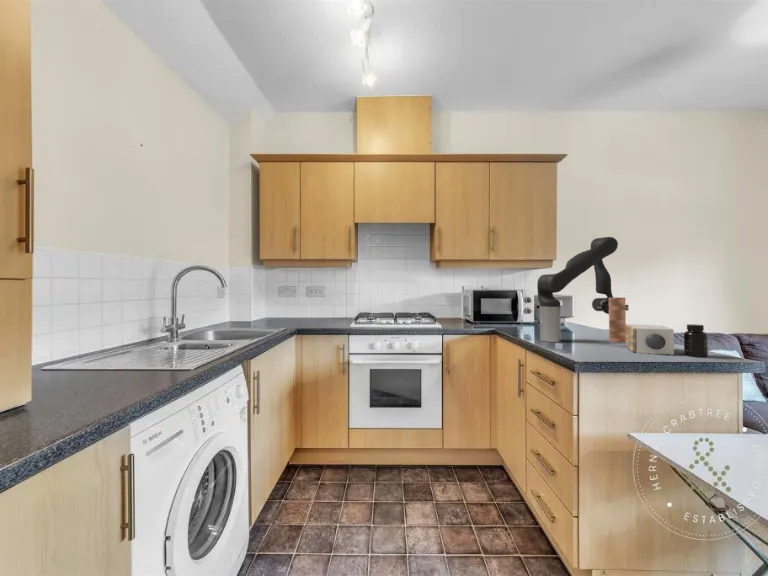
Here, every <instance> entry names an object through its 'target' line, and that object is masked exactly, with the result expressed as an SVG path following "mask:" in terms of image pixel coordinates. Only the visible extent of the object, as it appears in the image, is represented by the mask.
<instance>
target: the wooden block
mask: <svg viewBox="0 0 768 576" xmlns="http://www.w3.org/2000/svg"><path fill="white" fill-rule="evenodd" d="M625 305H626V297H613V298H609V314H608V338H609V339H608V342H609V343H623V344H624V347H626V348H627V349H628V350H630V351H631V352H634V353H636V328H634V327H632V326H629V325H630V324H626V319H627V318H626V315H627V313H626V310H625Z"/></svg>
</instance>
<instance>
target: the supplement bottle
mask: <svg viewBox="0 0 768 576" xmlns="http://www.w3.org/2000/svg"><path fill="white" fill-rule="evenodd" d="M704 328H705V327H704V325H703V324H686V331H685V332H684V333H683V353H684V355H685V356H687V357H691V356H692V357H691V358H707V357H708V356H709V344H708V342H709V341H708V334H707V332H705V329H704Z"/></svg>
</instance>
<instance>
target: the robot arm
mask: <svg viewBox="0 0 768 576" xmlns="http://www.w3.org/2000/svg"><path fill="white" fill-rule="evenodd" d="M618 245H619V243H618V240H617V239H616V238H615V237H613V236H604V237H597V238H594V239H593V240H592V241H591V242H590V249H586V250H584V251H581V252H579V253H577V254H576V255H574V256H573V257H571V258H570V259H568V260H567V262H566V264H565V267H564V268H563V269H562V270H560V271H559V272H557V273H552V274H551V273H549V274H541V275H540V276H539V278H538V279H537V285H536V286H537V287H536V288H537V298H538V299H537V300H538V303H539V341H540V342H546V343H549V342H550V343H551V342H552V343H559V342H561V341H562V340H561V335H562V332H561V323H562V322H561V301H560V300H559V299H557V298H556V297H555V296H554V293H555V294H556V293H559V292H562V290H564V289H565V288H566V287H567V286H568V285H569V284H570V283H571V282H572V281H573V280H575V279H576V278H578V277H579V276H581V275H582V274H583V273H585V272H586V271H588V270H590V268H592V267H593V268H594V274H595V275H594V276H595V292H596V293H597V294H600V295H605V296H606V297H597V298H594V299H593V300H592V302H591V307H592V309H593V310H594V311H596V312H603V313H604V314H607V315H609V298H614V296H613V292H612V278H611V275H610V272H609V271H608V269H607V267H606V266H605V264H604V261H603V259H604V258H607V257H608V256H610V255H612V254H614V253H616V250H617V249H618ZM625 311H629V304H625Z"/></svg>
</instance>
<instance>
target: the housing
mask: <svg viewBox="0 0 768 576" xmlns="http://www.w3.org/2000/svg"><path fill="white" fill-rule="evenodd" d="M628 325H629V326H632V327H634V328H636V352H635V353H636V354H648V353H650V354H651V355H665V354H670V355H669V356H674V353H675V350H674V349H675V348H674V347H675V345H674V344H675V343H674V342H675V338H674V335H675V334H674V329H673V328H670V327H668V326H664V325H656V324H655V325H653V324H652V325H649V324H628Z"/></svg>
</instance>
